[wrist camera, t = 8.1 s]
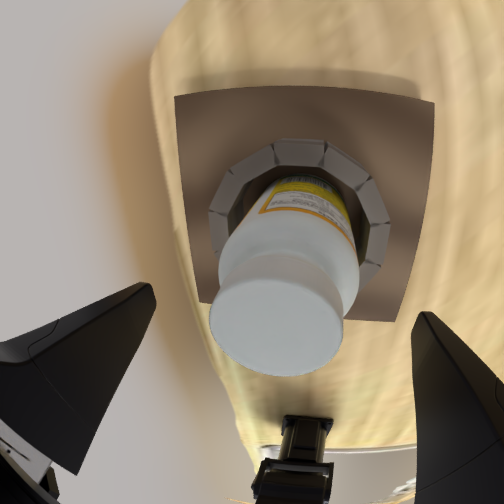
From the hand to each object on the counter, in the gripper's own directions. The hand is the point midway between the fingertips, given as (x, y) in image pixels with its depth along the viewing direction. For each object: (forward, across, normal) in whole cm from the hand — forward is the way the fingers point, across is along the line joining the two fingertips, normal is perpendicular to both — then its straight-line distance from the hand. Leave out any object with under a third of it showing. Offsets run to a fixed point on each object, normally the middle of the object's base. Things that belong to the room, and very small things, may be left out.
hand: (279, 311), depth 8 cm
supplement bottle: (+9, 0, 0) cm, 9 cm away
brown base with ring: (+11, 0, 0) cm, 11 cm away
